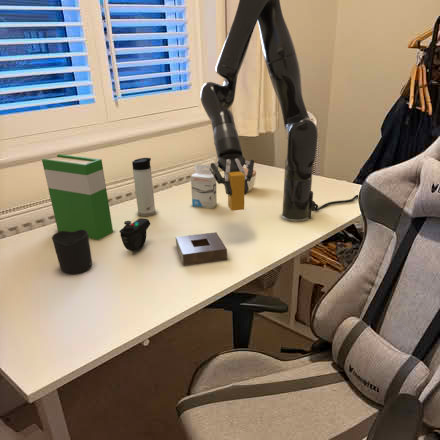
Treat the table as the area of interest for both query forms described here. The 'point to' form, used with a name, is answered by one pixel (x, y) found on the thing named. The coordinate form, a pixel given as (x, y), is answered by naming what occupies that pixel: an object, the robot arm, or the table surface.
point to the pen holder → (73, 251)
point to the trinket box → (252, 181)
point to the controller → (134, 234)
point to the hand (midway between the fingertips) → (238, 193)
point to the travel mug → (143, 186)
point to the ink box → (203, 187)
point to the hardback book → (78, 195)
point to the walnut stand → (201, 248)
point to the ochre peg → (236, 191)
